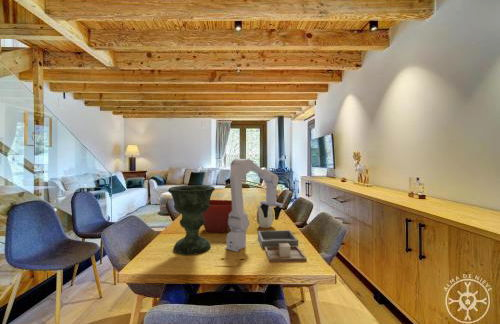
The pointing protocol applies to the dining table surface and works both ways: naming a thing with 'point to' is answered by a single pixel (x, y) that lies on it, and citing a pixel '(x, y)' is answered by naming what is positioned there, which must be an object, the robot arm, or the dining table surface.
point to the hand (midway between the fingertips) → (271, 218)
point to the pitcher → (265, 221)
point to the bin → (276, 238)
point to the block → (284, 249)
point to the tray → (275, 257)
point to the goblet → (191, 216)
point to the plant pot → (217, 216)
